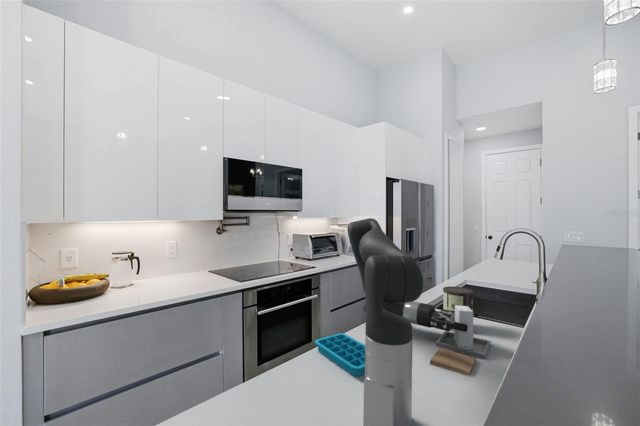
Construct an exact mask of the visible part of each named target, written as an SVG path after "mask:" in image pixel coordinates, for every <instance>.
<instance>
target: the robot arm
mask: <svg viewBox="0 0 640 426" xmlns="http://www.w3.org/2000/svg"><path fill="white" fill-rule="evenodd" d="M347 235H348V240H349V243H350V246H351V249H352V253H353V256H354V260H355V262H356V265H357V267H358V271H359V273H360V278H361V283H362V288H363V291H364V293H365V303H364V305H363V310H364V311H363V312H364V313H365V330H364V331H365V337H364V338H365V340H364V342H365V344H364V345H365V374H364V379H363V421H362V422H363V426H412V422H413V421H412V418H413V417H412V416H413V415H412V413H413V412H412V407H413V406H412V403H413V401H412V400H413V397H412V396H413V392H412V391H413V339H414V338H413V334H414V332H413V331H414V330H413V325H417V326H421V327H426V328H429V329H430V328H433V329H438V330H441V331H449V332H451V331H452V330H459V331H463V332H467V331H468V325H467V324H463V323H458V322H454V321H455V317H454V316H455V311H451V310H446V309H443V308H441V309H440V310H439V311H437V310H436V307H435V305H433V304H429V303H425V302H418V301H417V300H419V298H421V295H422V293H423V290H424V278H423V277H424V275H423V274H422V270H421V267H420V265H419V263H418V261H416V260H415V258H414V257H413V256H411V255H410V254H408V253H406V252H405V251H403V250H402V249H400V248H399V247H398V246H397V245H396V244H395V243H394V242H393V240H392V239H391V238H390V237H389V236H388V235H387V234H386V233H385V231H383V229H382V227H381V225H380V223H379V222H378V221H377V220H376V219H375V218H371V217H370V218H365V219H361V220H356V221H355V220H354V221H352V222H349V223H348V224H347ZM412 324H413V325H412Z"/></svg>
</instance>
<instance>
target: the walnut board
mask: <svg viewBox="0 0 640 426" xmlns="http://www.w3.org/2000/svg"><path fill="white" fill-rule="evenodd" d="M476 362H477V357H475V356H471V355H468V354H464V353H460V352H456V351H453V350H449V349H445V348H441V347H438V349H437V351H436V352H435V353H434V355H433V356H432V358H431V359H430V360H429V365H430V366H431V365H433V366H435V367H438V368H441V369H445V370H449V371H451V372H455V373H458V374H461V375H464V376H468V377H470V376H471V373H473V370H474V367H475V364H476Z"/></svg>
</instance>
